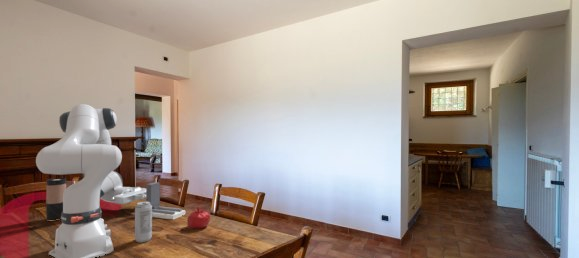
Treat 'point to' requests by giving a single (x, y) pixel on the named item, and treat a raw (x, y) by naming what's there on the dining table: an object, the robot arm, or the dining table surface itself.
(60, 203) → the travel mug
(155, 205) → the fader tab
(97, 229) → the robot arm
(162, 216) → the fader board
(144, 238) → the energy drink can
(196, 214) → the pomegranate
